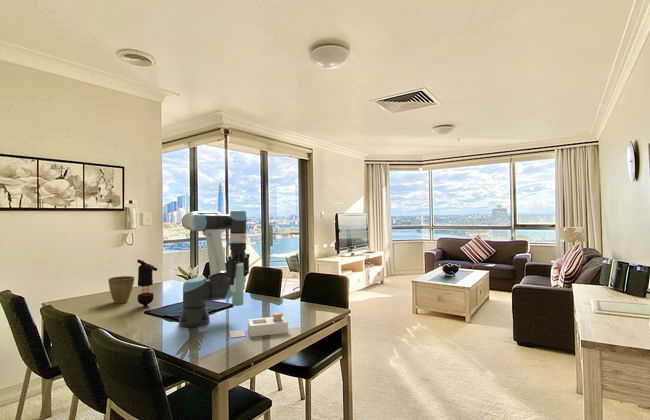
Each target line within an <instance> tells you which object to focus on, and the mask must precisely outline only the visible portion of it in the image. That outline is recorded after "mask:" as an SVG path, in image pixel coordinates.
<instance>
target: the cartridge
mask: <svg viewBox="0 0 650 420" xmlns="http://www.w3.org/2000/svg"><path fill="white" fill-rule="evenodd" d="M234 278H236V292H232V297H231V299H232V301H231V304H232V306H234V307H235V306H236V307H238V306H239V307H240V306H243V305H244V290H243V278H244V265H243V263H240V262H238V264H237V267H236V273H235V277H234Z"/></svg>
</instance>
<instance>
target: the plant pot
mask: <svg viewBox="0 0 650 420" xmlns="http://www.w3.org/2000/svg"><path fill="white" fill-rule="evenodd" d="M107 280H108V287H109V292H110V295H111V297H112V301H113V303H114V304H123V303H124V304H125V303H127V302H128V301H129V299H130V296H131V293H132V291H133V287H134V282H135V276H133V275H132V276H131V275H130V276H127V275H125V276H123V275H122V276H114V277H109V278H107Z"/></svg>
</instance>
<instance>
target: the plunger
mask: <svg viewBox="0 0 650 420" xmlns="http://www.w3.org/2000/svg"><path fill="white" fill-rule="evenodd" d="M283 315H284V314H283V313H282V312H274V313H272V317H273V318H274V322H275V321H281V317H283Z"/></svg>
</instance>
